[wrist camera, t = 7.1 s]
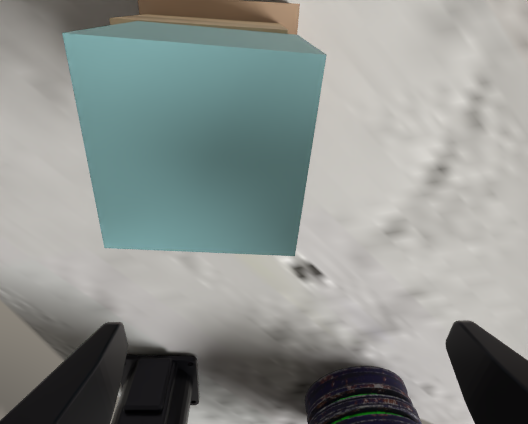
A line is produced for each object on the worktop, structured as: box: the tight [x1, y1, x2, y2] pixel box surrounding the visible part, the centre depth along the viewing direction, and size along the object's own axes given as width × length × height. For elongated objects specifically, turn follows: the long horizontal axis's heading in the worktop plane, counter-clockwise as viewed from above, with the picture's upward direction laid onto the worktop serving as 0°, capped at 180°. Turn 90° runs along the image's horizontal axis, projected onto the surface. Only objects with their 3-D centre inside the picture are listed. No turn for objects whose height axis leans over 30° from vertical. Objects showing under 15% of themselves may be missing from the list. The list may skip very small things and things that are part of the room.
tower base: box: [138, 0, 300, 35], centre depth 16 cm, size 6×6×4 cm
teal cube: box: [62, 21, 326, 256], centre depth 9 cm, size 4×4×4 cm
